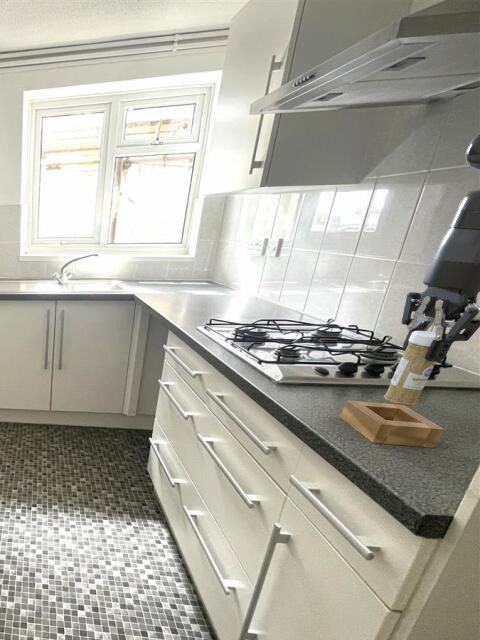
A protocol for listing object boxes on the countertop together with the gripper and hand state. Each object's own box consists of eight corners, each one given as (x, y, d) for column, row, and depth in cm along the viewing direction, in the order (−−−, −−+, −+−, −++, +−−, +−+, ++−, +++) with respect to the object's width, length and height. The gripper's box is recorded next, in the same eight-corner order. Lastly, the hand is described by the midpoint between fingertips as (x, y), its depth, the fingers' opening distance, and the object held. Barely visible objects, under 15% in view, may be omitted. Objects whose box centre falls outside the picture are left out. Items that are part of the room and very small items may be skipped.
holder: (394, 421, 85) (402, 404, 84) (434, 448, 76) (445, 429, 75) (339, 417, 87) (346, 400, 85) (372, 442, 78) (381, 424, 76)
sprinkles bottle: (410, 409, 76) (445, 338, 71) (378, 399, 80) (409, 332, 74) (419, 403, 78) (453, 334, 73) (387, 394, 82) (417, 328, 76)
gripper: (540, 265, 61) (481, 372, 68) (455, 253, 74) (413, 344, 81) (480, 263, 62) (428, 369, 69) (406, 252, 75) (369, 342, 82)
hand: (420, 355), depth 75 cm, fingers closed on sprinkles bottle, 4 cm apart
